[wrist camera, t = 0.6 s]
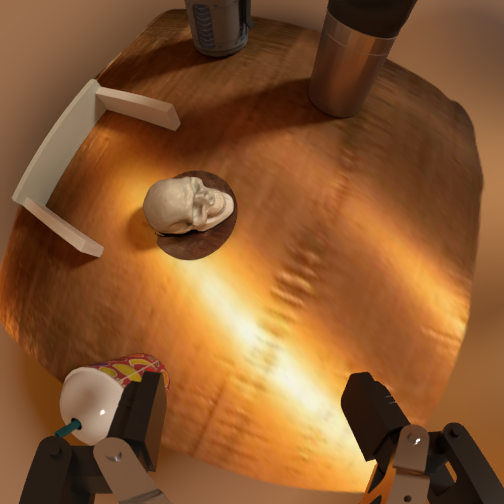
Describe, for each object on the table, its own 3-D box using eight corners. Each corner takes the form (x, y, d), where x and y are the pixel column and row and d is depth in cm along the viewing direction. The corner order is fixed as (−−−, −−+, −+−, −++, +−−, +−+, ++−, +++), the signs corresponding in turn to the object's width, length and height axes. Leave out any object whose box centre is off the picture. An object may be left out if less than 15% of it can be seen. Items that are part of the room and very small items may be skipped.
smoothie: (163, 414, 31) (92, 497, 11) (113, 381, 31) (16, 429, 12) (189, 368, 32) (119, 438, 12) (135, 333, 33) (29, 358, 13)
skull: (235, 159, 35) (235, 182, 27) (238, 227, 41) (238, 267, 32) (150, 165, 35) (123, 191, 26) (160, 230, 41) (142, 270, 32)
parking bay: (106, 101, 39) (91, 79, 32) (180, 124, 38) (169, 95, 31) (37, 210, 36) (11, 198, 29) (99, 257, 34) (71, 248, 27)
